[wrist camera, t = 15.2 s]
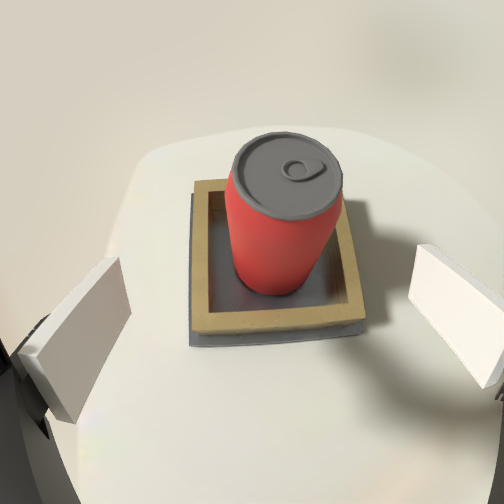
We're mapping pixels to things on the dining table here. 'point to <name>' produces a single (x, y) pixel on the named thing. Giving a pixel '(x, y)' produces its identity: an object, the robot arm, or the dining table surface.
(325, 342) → the dining table surface
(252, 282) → the beer can
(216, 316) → the frame
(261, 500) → the dining table surface
